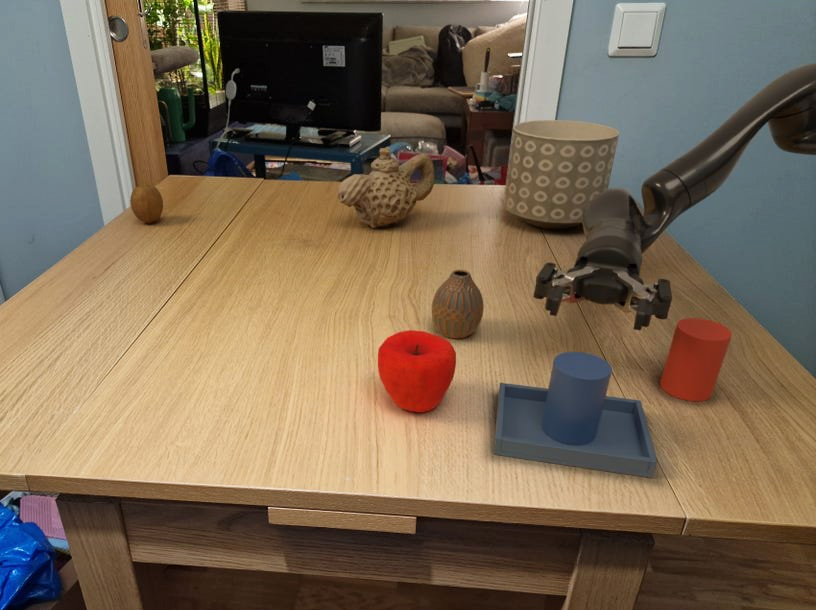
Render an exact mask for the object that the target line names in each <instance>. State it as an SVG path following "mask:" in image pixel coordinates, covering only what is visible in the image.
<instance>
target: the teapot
mask: <svg viewBox="0 0 816 610" xmlns="http://www.w3.org/2000/svg"><path fill="white" fill-rule="evenodd" d="M378 153H379V157H377V158H376V159H374V160H373V161H372V162H371V163H370V167H371V171H370V172H369V174H362V173H361V174H360V173H359V174H358V173H356V174H355V173H354V174H352V175H351V176H348V177H347V178H345V179H343V181H342V182H341V184H340V185H339V186H338V191H337V198H338V199H339V201H340V204H342V205H345V206H347V207H348V208H351V207H354V210H355V213H356V214H357V216H358V218H360V221H361V224H363V225H365V226H370V227H371V229H376V228H388V227H391V226H394V225H397V224H398V223H399V222H401V221H404V219H406V218H407V217H408V215H409V214H411V213H412V212H413V211H414V207H415V206H416V205H417V202H418V201H419V202H421V201H424V200H425V199H426V198H427V197H428V196H429V195H430V194H431V192H432V190H433V188H434V186H435V181H436V178H435V177H436V176H435V168H434V163H433V160H432V158H431V156H429V154H427V153H423V152H422V153H419V154H417V155H414V156H412V157H411V158H410V159H408V160H407V161H405V162H403V163H401V165H400V163H399V161H398V159H397V158H396V157H393V156H391V155H392V153H391V147H390V146H386V147H381V148H379V151H378ZM418 170H419V171H420V179H419V181H418V182H416V183H413V184H412V183H411V177H412V176H413V174H414V173H415V172H417V171H418Z"/></svg>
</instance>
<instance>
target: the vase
mask: <svg viewBox="0 0 816 610" xmlns="http://www.w3.org/2000/svg"><path fill="white" fill-rule="evenodd" d="M484 306H485V305H484V298H483V294H482V292H481V290H480V288H479V287H478V286H477V284H476V283H475V281H474V279H473V277H472V275H471V272H470V271H468V270H465V269H454V270H452V271H451V273H450V275H449V277H448V278H447V279H446V280H444V282H443V283H442V284H441V285H440V286H439V287H438V288H437V290H436V292H435V294H434V296H433V299H432V302H431V318H432V322H433V324H434V327H435V328H436V329H437V331H438V332H439V333H441V334H442V335H443V336H445V337H446V338H450V339H465V338H467V337H468V336H470V335H472V334H473V333H475V331H477V329H478V327H479V326H480V324H481V322H482V318H483V315H484V308H485V307H484Z"/></svg>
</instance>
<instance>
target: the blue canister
mask: <svg viewBox="0 0 816 610" xmlns="http://www.w3.org/2000/svg"><path fill="white" fill-rule="evenodd" d="M612 372H613V367H612V366H611V364H610V363H609V362H608V361H607V360H605V359H604V358H602V357H600V356H598V355H595V354H592V353H588V352H583V351H566V352H561V353H560V354H557V355H556V356H555V357H554V359H553V362H552V367H551V373H550V378H549V383H548V388H547V389H548V393H547V399H546V404H545V409H544V414H543V420H542V429H543V431H544V432H545V434H546V435H547V436H549V437H550V438H552V439H553V440H555V441H558V442H560V443H564V444H568V445H585V444H588V443H591V442H592V441H593V440H594V439H595V438H596V435H597V431H598V426H599V422H600V418H601V414H602V410H603V406H604V402H605V397H606V396H607V394H608V388H609V385H610V382H611V381H610V380H611V377H612Z"/></svg>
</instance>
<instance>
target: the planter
mask: <svg viewBox="0 0 816 610" xmlns="http://www.w3.org/2000/svg"><path fill="white" fill-rule="evenodd" d="M619 137H620V131H619V130H618V129H616V128H614V127H611V126H608V125H604V124H599V123H594V122H588V121H577V120H562V119H541V120H529V121H523V122H519V123H516V124H515V125H514V126H513V128H512V136H511V144H510V151H509V158H508V159H509V160H508V168H507V174H506V182H505V191H504V196H503V197H504V199H503V208H504V209H505V210H506V211H507V212H509V213H510V214H512V215H515V216H517V217H518V218H520V219H521V220H522V221H524V222H526V223H528V224H529V225H531V226H534V227H537V228H541V229H546V230H563V229H569V228H573V227H577V226H579V225H583V224H582V215H583V212H584V209H585V208H586V206H587V205H588V203H589V202H590V201H591V200H592V199H593V198H594V197H595V196H597V195H598V194H600V193H602V192H604V191H606V190H609V185H610V181H611V176H612V172H613V166H614V161H615V157H616V156H615V155H616V152H617V148H618V147H617V146H618V141H619Z"/></svg>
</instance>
